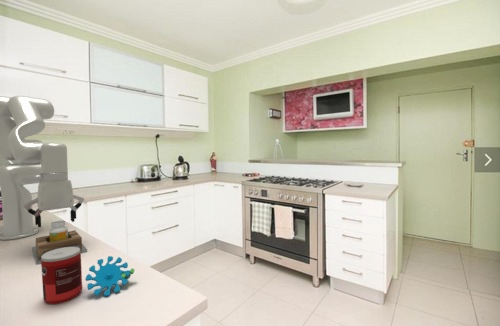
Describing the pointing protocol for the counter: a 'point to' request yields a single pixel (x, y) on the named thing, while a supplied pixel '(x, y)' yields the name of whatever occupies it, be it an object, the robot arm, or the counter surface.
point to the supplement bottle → (58, 231)
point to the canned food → (61, 274)
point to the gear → (109, 276)
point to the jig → (57, 242)
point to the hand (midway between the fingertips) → (56, 223)
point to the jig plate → (38, 260)
